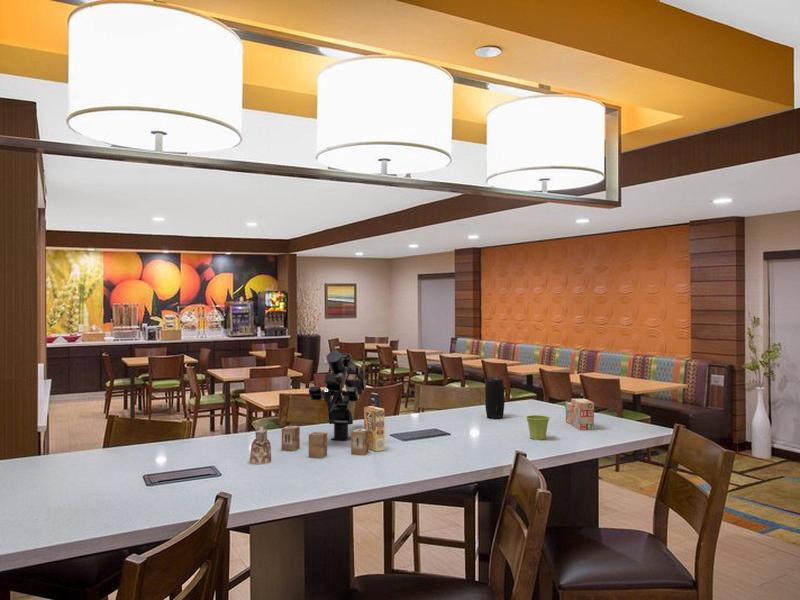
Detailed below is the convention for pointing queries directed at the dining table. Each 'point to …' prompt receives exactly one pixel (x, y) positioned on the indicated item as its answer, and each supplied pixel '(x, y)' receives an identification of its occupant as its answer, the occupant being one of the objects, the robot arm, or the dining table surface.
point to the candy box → (375, 427)
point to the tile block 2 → (359, 442)
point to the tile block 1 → (290, 438)
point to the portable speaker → (494, 397)
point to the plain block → (317, 445)
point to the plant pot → (537, 426)
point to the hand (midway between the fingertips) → (329, 411)
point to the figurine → (260, 447)
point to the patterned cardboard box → (580, 414)
